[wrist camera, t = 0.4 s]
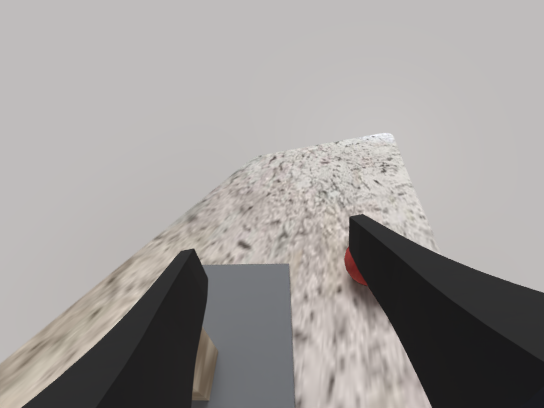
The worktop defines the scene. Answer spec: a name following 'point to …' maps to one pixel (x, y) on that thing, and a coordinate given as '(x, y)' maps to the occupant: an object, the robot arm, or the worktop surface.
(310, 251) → the worktop surface
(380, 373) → the worktop surface
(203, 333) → the block
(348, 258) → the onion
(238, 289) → the mat
